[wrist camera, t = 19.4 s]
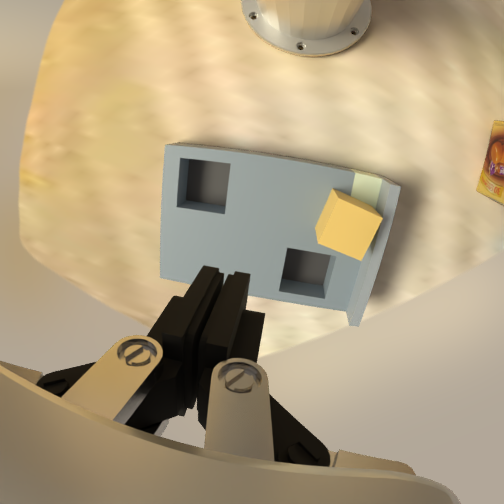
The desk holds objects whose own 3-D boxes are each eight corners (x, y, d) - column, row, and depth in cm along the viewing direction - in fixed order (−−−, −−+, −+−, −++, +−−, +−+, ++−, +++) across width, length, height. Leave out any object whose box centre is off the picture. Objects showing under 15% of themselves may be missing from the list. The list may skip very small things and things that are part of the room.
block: (332, 188, 26) (338, 198, 23) (371, 205, 27) (382, 218, 23) (314, 227, 28) (317, 243, 24) (353, 243, 28) (361, 261, 25)
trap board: (176, 142, 30) (154, 146, 25) (383, 176, 28) (401, 186, 23) (170, 266, 35) (150, 289, 30) (350, 298, 34) (358, 326, 29)
